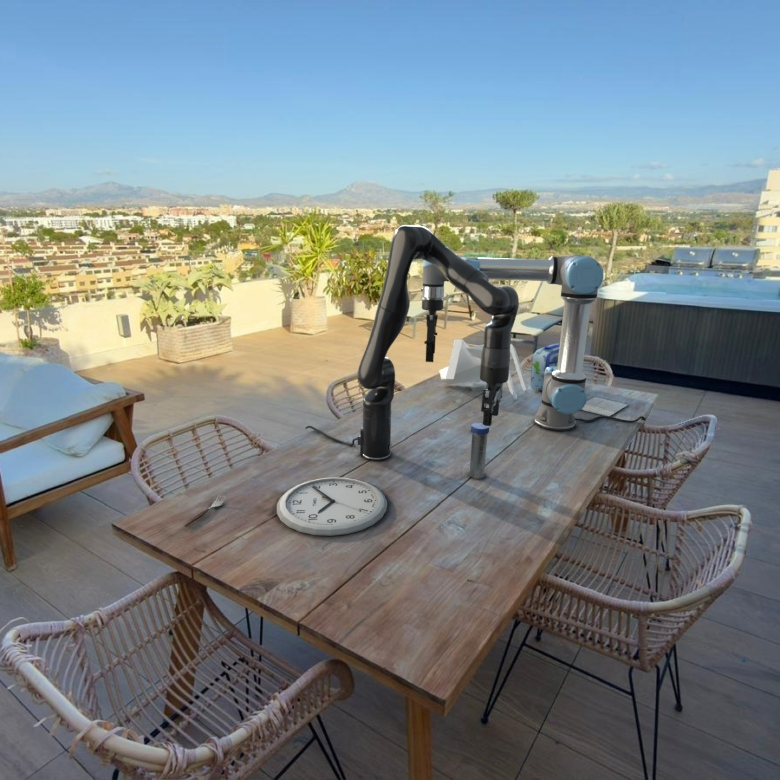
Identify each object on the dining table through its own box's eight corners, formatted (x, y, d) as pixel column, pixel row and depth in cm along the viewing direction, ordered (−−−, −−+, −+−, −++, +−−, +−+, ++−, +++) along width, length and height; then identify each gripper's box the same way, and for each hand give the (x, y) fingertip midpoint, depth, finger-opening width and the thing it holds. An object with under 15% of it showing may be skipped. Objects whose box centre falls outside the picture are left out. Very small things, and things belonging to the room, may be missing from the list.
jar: (482, 480, 159) (486, 430, 154) (467, 477, 160) (471, 428, 155) (485, 474, 163) (489, 425, 158) (471, 471, 164) (474, 423, 159)
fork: (180, 527, 131) (179, 520, 130) (221, 497, 145) (220, 491, 145) (189, 529, 130) (188, 522, 130) (228, 499, 144) (228, 493, 144)
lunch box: (547, 395, 239) (552, 351, 233) (526, 390, 247) (530, 347, 240) (574, 384, 257) (579, 343, 251) (554, 380, 264) (558, 339, 258)
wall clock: (392, 527, 129) (268, 531, 127) (391, 533, 130) (269, 537, 127) (383, 473, 158) (282, 475, 155) (383, 478, 158) (282, 480, 156)
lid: (486, 435, 154) (487, 430, 153) (469, 433, 156) (469, 427, 155) (490, 429, 158) (491, 424, 158) (473, 427, 160) (473, 421, 160)
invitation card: (608, 416, 214) (573, 407, 224) (608, 416, 214) (573, 408, 224) (628, 404, 229) (594, 396, 238) (628, 405, 229) (594, 397, 238)
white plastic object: (461, 429, 252) (437, 405, 227) (444, 352, 274) (420, 323, 250) (535, 404, 240) (518, 377, 215) (510, 326, 262) (492, 293, 237)
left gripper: (487, 355, 146) (483, 410, 151) (474, 367, 134) (470, 426, 139) (514, 358, 143) (509, 414, 148) (503, 371, 131) (498, 431, 136)
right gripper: (424, 293, 195) (422, 349, 202) (419, 302, 172) (417, 365, 178) (444, 294, 195) (441, 350, 201) (442, 303, 171) (439, 366, 177)
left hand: (490, 420), depth 143 cm, fingers open, 8 cm apart
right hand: (430, 357), depth 190 cm, fingers open, 13 cm apart
